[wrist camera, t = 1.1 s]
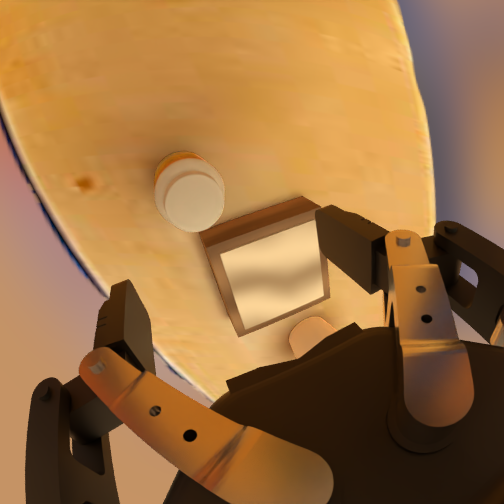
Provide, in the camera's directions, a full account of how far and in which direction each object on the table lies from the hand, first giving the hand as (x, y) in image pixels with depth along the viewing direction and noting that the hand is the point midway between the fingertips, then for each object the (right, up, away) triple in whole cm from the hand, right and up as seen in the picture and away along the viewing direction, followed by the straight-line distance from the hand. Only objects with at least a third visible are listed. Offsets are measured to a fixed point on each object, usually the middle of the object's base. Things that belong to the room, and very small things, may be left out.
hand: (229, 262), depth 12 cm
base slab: (+2, 0, +22) cm, 22 cm away
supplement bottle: (-6, +8, +15) cm, 18 cm away
